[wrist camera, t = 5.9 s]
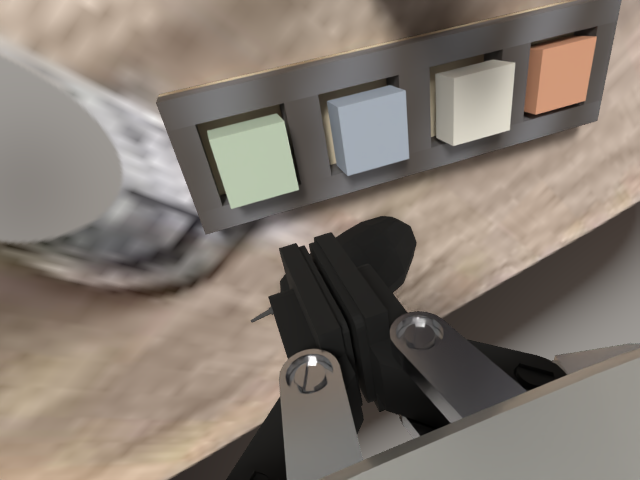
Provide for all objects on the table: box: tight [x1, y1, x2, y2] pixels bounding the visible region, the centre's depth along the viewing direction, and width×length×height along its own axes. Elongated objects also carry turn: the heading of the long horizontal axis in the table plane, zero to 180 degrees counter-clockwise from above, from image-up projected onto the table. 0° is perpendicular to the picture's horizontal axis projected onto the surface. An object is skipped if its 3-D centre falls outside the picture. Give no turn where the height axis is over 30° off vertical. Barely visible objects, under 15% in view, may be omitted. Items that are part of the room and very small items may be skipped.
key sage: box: [207, 113, 299, 209], centre depth 22 cm, size 4×4×2 cm
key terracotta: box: [524, 35, 597, 115], centre depth 27 cm, size 4×4×2 cm
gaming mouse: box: [251, 216, 416, 322], centre depth 31 cm, size 6×15×4 cm, turn 115°
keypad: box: [156, 0, 621, 234], centre depth 26 cm, size 29×8×3 cm, turn 100°
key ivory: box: [435, 60, 515, 146], centre depth 25 cm, size 4×4×2 cm
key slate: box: [327, 85, 409, 176], centre depth 24 cm, size 4×4×2 cm
